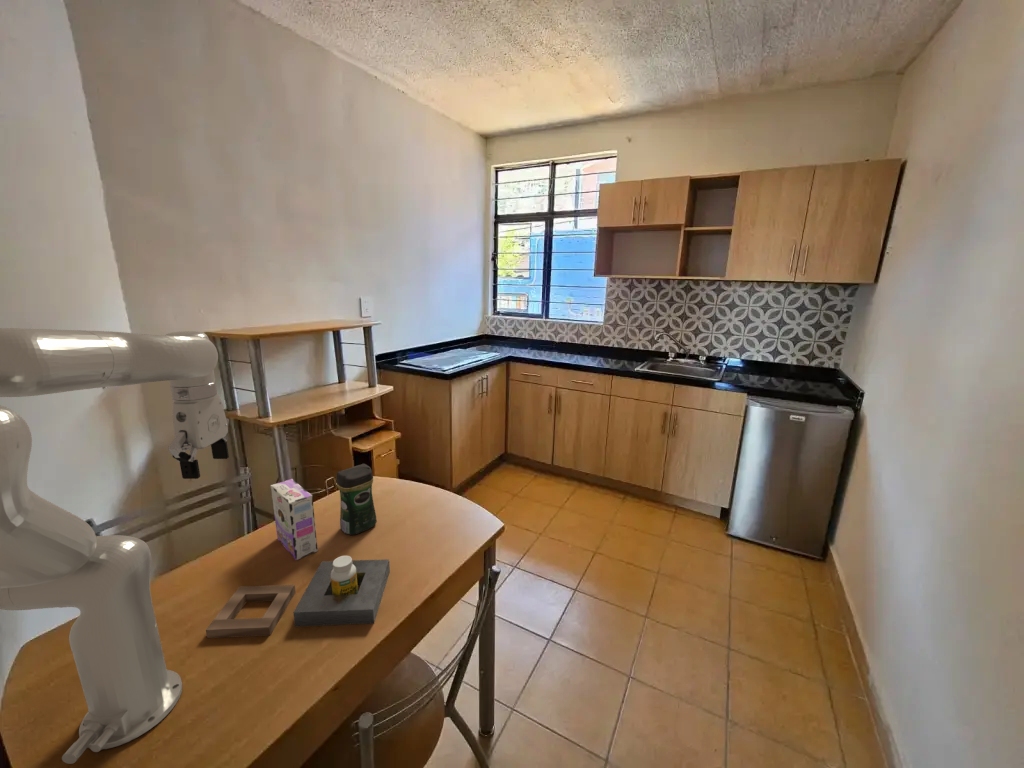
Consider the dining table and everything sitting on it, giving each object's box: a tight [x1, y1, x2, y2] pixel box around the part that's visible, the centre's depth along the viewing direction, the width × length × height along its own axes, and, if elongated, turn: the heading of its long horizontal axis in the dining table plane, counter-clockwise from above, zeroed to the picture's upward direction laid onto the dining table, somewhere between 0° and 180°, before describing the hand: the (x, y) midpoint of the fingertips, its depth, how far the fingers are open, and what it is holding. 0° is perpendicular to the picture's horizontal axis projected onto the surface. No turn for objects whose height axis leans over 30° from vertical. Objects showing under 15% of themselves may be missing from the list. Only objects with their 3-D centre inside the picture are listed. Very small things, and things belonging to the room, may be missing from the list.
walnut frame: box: [205, 584, 296, 639], centre depth 89 cm, size 12×12×2 cm
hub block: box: [292, 558, 391, 628], centre depth 94 cm, size 16×16×4 cm
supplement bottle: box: [331, 555, 359, 595], centre depth 93 cm, size 5×5×10 cm
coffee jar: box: [336, 463, 378, 536], centre depth 119 cm, size 10×8×19 cm
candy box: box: [270, 478, 319, 561], centre depth 110 cm, size 14×6×16 cm, turn 47°
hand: (207, 467), depth 90 cm, fingers open, 9 cm apart
